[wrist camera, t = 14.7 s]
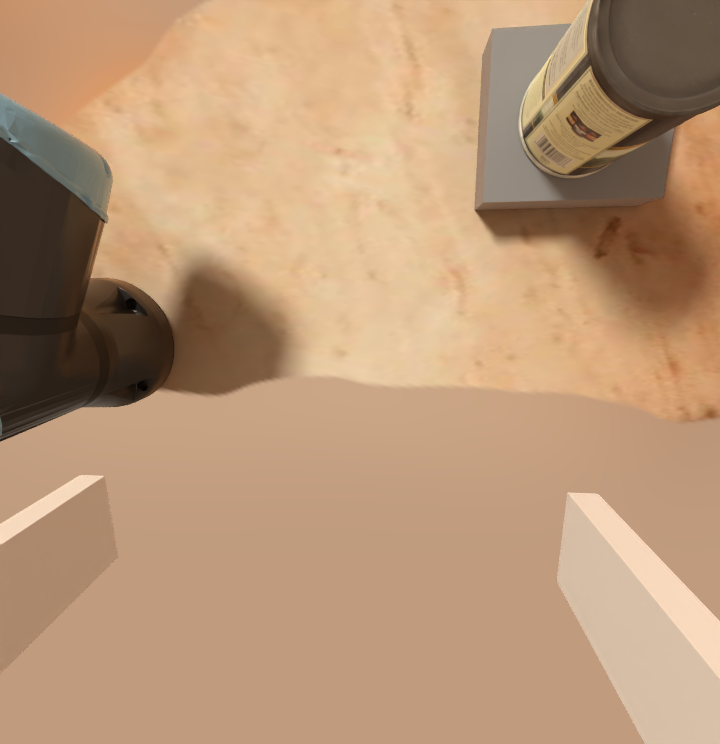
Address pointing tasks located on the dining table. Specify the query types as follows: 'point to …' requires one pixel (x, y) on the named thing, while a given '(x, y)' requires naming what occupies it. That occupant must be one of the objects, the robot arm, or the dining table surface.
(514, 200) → the riser
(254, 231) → the dining table surface
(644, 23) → the coffee can
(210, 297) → the dining table surface
